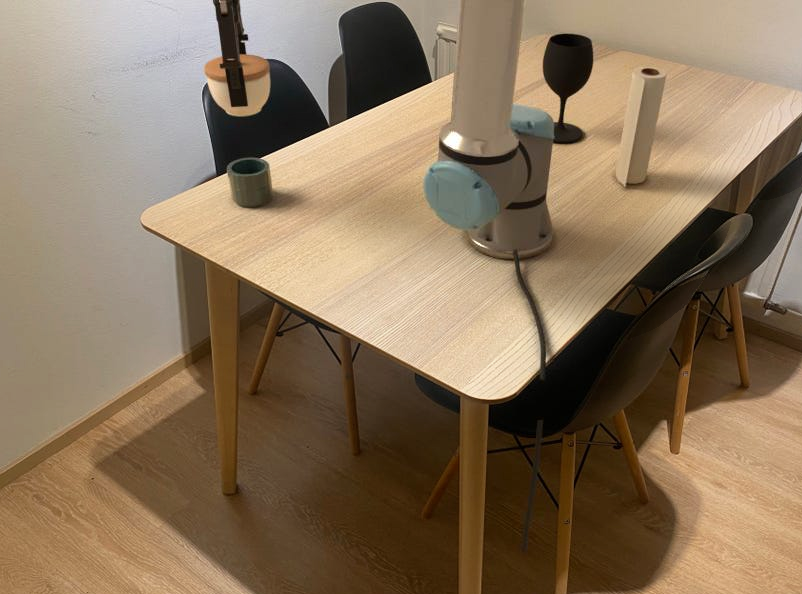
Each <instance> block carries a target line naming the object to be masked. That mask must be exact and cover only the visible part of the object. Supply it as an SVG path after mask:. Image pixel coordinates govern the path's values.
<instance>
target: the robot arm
mask: <svg viewBox="0 0 802 594" xmlns="http://www.w3.org/2000/svg"><path fill="white" fill-rule="evenodd" d="M240 1H241V0H212V3H213V6H214V11H215V19H216V22H217V27H218V33H219V43H220V51H221V56H222V59H223V63H222V64H220V69H225V72H226V78H227V84H228V90H229V97H230V103H231V107H247V106H248V101H247V95H246V88H245V81H244V74H243V68H242V65H241V62H240V54H247V48H246V42H248V41H249V34H248V33H245V28H244V24H243V20H242V13H241V11H242V10H241V2H240ZM525 6H526V0H458V12H457V25H456V39H455V52H454V53H455V54H454V69H453V70H454V71H453V83H452V84H453V85H452V97H451V98H452V100H451V113H450V121H449V122H447V123H446V124H445V125H443V126H442V127H441V129H440V131H439V135H438V136H439V137H438V153H437V161H435V162H434V163H432V164H431V165H430V166H429V167H428V170H427V171H426V172H425V174H424V177H423V181H422V184H423V185H422V190H423V195H424V197H425V201H426V202H427V205H428V207H429V208H430V209H431V210H432V211H433V212H434V213H435V215H436V216H437V217H438V219H439V220H440V221H442V222H443V223H444V224H446V225H448V226H449V227H451V228H454V229H456V230H460V231H465V238H466V240H467V243H468V244H469V245H470V246H471V247H472V248H473V249H474V250H475V251H477V252H479V253H481V254H483V255H486V256H489V257H492V258H495V259H496V258H497V259H502V260H503V259H504V260H513V262H514V269H515V274H516V277H517V281H518V283H519V285H520V286H519V287H521V290H522V292H523V294H524V296H525V297H526V300H527V301H528V303H529V304H528V305H529V307H530V309H531V312H532V315H533V318H534V321H535V325H536V328H537V332H538V339H539V346H540V357H539V359H540V360H539V363H540V364H539V368H540V369H539V379H540V380H541V381H545V380H546V375H547V373H546V372H547V371H546V370H547V369H546V368H547V346H546V338H545V333H544V328H543V324H542V320H541V318H540V315H539V311H538V309H537V306H536V304H535V302H534V299H533V297H532V295H531V292H530V291H529V289H528V287H527V285H526V284H525V281H524V278H523V276H522V271H521V265H520V260H524V259H529V258H534V257H536V256H539V255H541V254H543V253H544V252H546V251H547V250H548V249H549V248H550V246H551V244H552V241H553V234H554V230H553V223H552V219H551V215H550V211H549V207H548V202H547V196H548V195H547V194H548V186H549V178H550V170H551V162H552V161H551V160H552V154H553V145H554V142H553V139H554V122H555V121H554V119H553V117H552V116H551V115H550V114H549V113H548V112H547V111H544V110H542V109H541V108H537V107H534V106H530V105H525V104H518V103H514V97H515V88H516V81H517V72H518V63H519V55H520V49H521V48H520V47H521V40H522V32H523V23H524V16H525V15H524V14H525V8H526V7H525ZM228 59H235V60H228ZM543 424H544V419H538V420H537V424H536V434H535V444H534V454H533V460H532V461H533V462H532V469H531V478H530V484H529V490H528V499H527V506H526V513H525V519H524V526H523V533H522V541H521V548H520V552H521V554H526V552H527V545H528V537H529V532H530V531H529V530H530V523H531V518H532V512H533V511H532V510H533V504H534V497H535V490H536V484H537V477H538V469H539V461H540V454H541V445H542V436H543V426H544V425H543Z"/></svg>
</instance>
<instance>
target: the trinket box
mask: <svg viewBox="0 0 802 594" xmlns="http://www.w3.org/2000/svg"><path fill="white" fill-rule="evenodd" d="M228 60H235V59H228ZM240 62H241V65H242V68H243V74H244V81H245V88H246V95H247V101H248V106H247V107H231V103H230V97H229V90H228V84H227V78H226V72H225V69H220V64H222V63H223V59H222V55H220V56H218V57H215V58H212V59H210V60H208V61H207V62H206V63H205V64H204V66H203V68H204V69H203V70H204V75H205V78H206V82H207V86H208V89H209V92H210V94H211V97H212V99H213V101H215V103H216V104H217V106H219V107H220V108H221V109H222V110H224V111H225V113H226V114H227V115H229V116H233V117H249V116H253V115H257V114H258V113H260V112H261V111H262V108H263V107H264V105H265V104H266V103H267V102H268V99H269V97H270V93H271V72H270V70H271V69H270V62H269V61H268V60H267V59H266V58H264V57H262V56H259V55H255V54H247V53H246V54H240Z"/></svg>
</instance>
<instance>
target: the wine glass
mask: <svg viewBox="0 0 802 594" xmlns="http://www.w3.org/2000/svg"><path fill="white" fill-rule="evenodd" d="M593 67H594V46H593V42H592V39H591V38H589V37H588V36H585V35H582V34H577V33H557V34H554V35H551V36H550V37H549V39H548V42H547V43H546V47H545V49H544V53H543V58H542V73H543V79H544V81H545V83H546V84H547V86H548V87H549V89H550V90H551V91H552V92H553V93H554V94H555V95H557V97H559V102H560V103H559V114H558V121H554V139H553V143H555V144H570V143H574V142H577V141H579V140H581V139H582V138H583V137H584V132H583V130H582V129H581V128H580V127H579V126H577V125H574V124H572V123H568V122H564V121H565V120H564V118H565V109H566V105H567V100H568V99H569V98H570V97H572V96H573V95H575V94H577V93H578V92H580V91H581V90H582V89H583V88H584V86H585V85H586V84H587V83H588V82H589V79H590V78H591V74H592V71H593V69H594V68H593Z"/></svg>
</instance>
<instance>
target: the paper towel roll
mask: <svg viewBox="0 0 802 594" xmlns="http://www.w3.org/2000/svg"><path fill="white" fill-rule="evenodd" d="M666 79H667V72H666V71H665V70H664V69H662V68H659V67H654V66H638V67H636V68H634V69H633V70H632V76H631V81H630V86H629V87H630V88H629V93H628V99H627V105H626V111H625V116H624V123H623V129H622V133H621V140H620V145H619V151H618V156H617V163H616V169H615V178H616V179H617V181H618V182H619V183H620V184H621V185H623V186H624V188H626V186H627V184H632V185H633V184H634V185H635V184H641V183H643V182H645V180H646V178H647V174H648V168H649V163H650V159H651V154H652V148H653V144H654V140H655V133H656V130H657V129H656V128H657V124H658V119H659V115H660V109H661V105H662V100H663V95H664V90H665V84H666Z"/></svg>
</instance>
